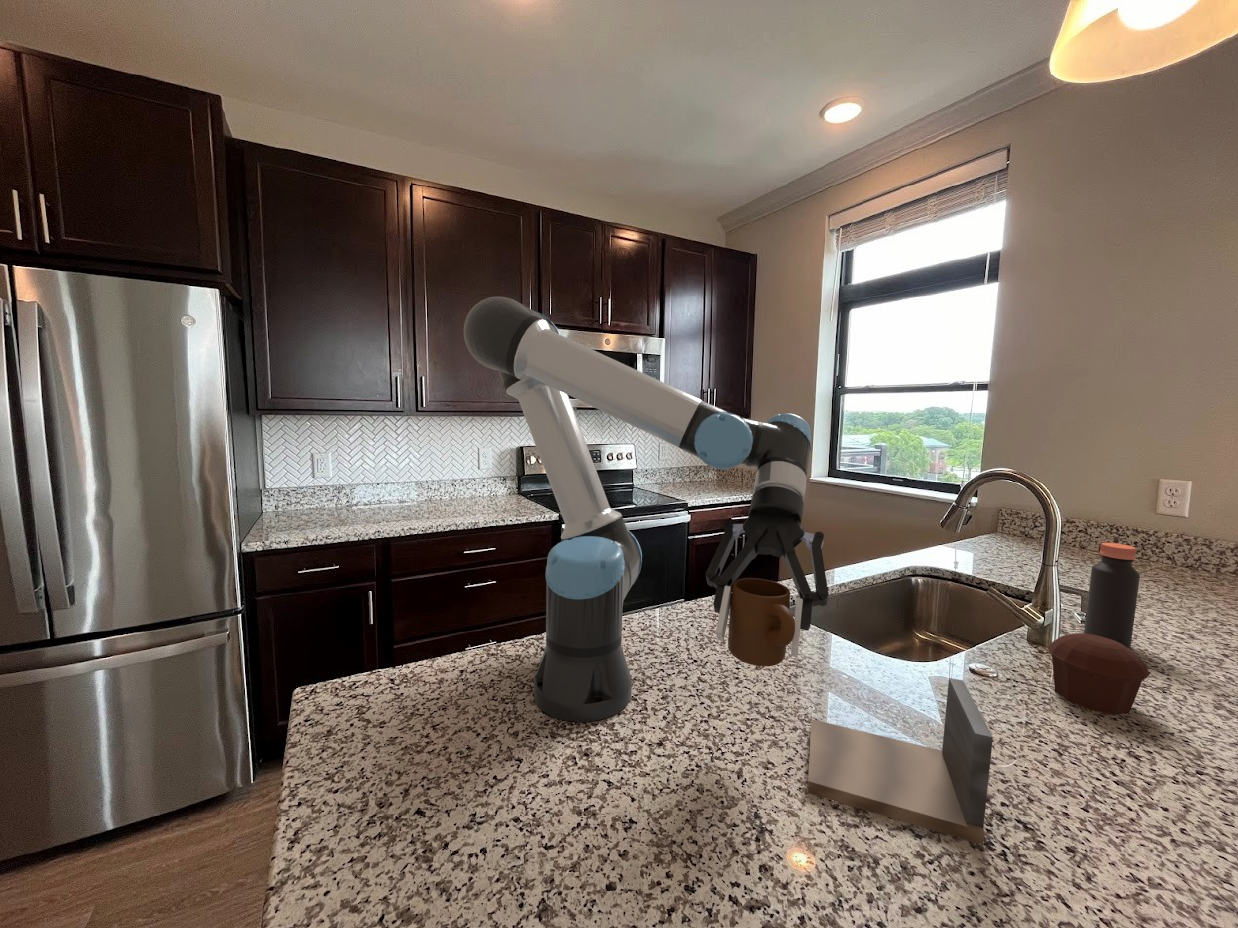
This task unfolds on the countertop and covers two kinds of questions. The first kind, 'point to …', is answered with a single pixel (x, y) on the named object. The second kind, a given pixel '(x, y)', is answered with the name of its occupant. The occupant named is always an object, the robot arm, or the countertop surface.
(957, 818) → the shelf
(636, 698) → the countertop surface
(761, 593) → the mug
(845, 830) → the countertop surface
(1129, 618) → the bottle
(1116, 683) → the muffin
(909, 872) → the countertop surface
